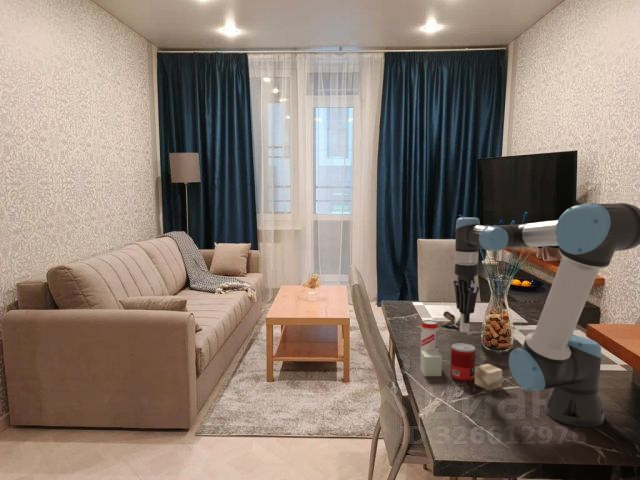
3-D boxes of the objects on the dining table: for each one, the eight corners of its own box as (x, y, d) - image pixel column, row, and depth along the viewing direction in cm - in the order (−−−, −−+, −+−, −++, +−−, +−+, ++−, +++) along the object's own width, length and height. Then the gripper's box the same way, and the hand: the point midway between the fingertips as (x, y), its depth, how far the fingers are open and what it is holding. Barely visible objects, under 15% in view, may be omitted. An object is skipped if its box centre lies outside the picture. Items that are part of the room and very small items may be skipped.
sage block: (441, 376, 170) (442, 356, 169) (424, 376, 170) (424, 357, 169) (436, 369, 176) (437, 350, 175) (420, 369, 176) (420, 351, 175)
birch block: (501, 387, 161) (502, 369, 160) (488, 390, 158) (489, 373, 157) (487, 380, 166) (488, 363, 165) (474, 384, 163) (475, 366, 163)
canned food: (475, 382, 164) (476, 351, 163) (451, 380, 166) (452, 349, 165) (473, 373, 172) (474, 343, 170) (449, 372, 173) (450, 342, 172)
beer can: (434, 368, 177) (435, 325, 175) (417, 364, 180) (418, 322, 178) (439, 362, 182) (441, 321, 180) (423, 359, 185) (424, 318, 183)
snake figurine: (462, 322, 230) (443, 316, 233) (463, 312, 225) (444, 306, 229) (457, 334, 225) (438, 328, 229) (459, 324, 220) (439, 318, 224)
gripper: (487, 266, 158) (484, 336, 161) (466, 260, 171) (464, 325, 174) (466, 267, 157) (463, 338, 159) (447, 260, 169) (445, 326, 172)
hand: (464, 331), depth 167 cm, fingers closed
